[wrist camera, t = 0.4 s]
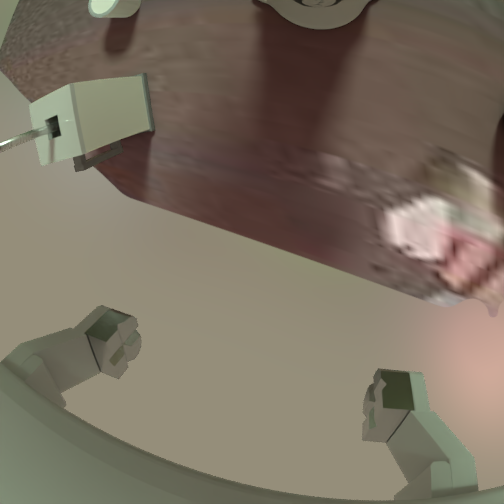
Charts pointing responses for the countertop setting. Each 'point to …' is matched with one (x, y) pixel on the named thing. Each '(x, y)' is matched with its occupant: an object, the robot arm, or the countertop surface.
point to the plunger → (28, 136)
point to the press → (92, 118)
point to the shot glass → (113, 8)
